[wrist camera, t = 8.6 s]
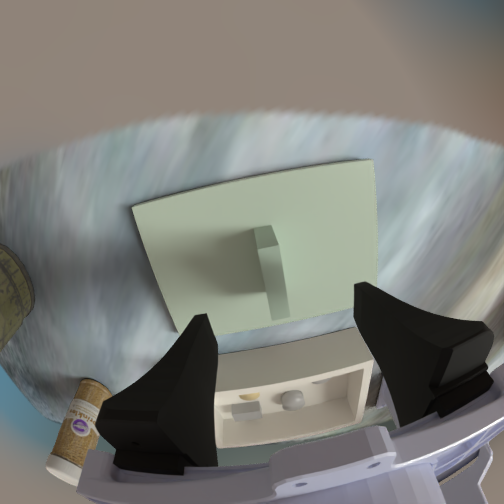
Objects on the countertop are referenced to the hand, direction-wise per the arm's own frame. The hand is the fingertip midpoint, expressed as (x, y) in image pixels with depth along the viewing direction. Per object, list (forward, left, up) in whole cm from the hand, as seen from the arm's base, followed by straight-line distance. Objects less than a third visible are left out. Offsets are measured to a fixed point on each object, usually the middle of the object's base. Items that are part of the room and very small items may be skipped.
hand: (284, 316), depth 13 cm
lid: (0, 0, -9) cm, 9 cm away
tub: (+1, +15, -8) cm, 17 cm away
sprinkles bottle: (+23, +14, -8) cm, 28 cm away
